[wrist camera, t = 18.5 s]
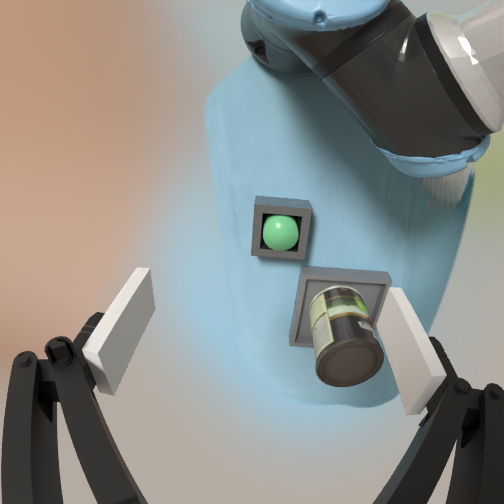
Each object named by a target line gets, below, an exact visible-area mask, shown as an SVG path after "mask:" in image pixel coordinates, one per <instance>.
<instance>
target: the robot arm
mask: <svg viewBox="0 0 504 504" xmlns="http://www.w3.org/2000/svg"><path fill="white" fill-rule="evenodd" d="M246 1H247V3H246V5H245V7H244V9H243V12H242V16H241V31H242V36H243V38H244V41H245V43H246V45H247V47H248V49H249V51H250V52H251V53H252V54H253V56H254V57H255V58H256V59H257V60H258V61H260V62H261V63H262V64H264V65H265V66H267V67H268V68H270V69H272V70H275V71H277V72H280V73H283V74H288V75H296V76H303V75H311V74H316V75H317V76H318V77H319V78H320V79H321V81H322V82H323V83H324V84H325V85H326V86H327V87H328V88H329V90H330V91H331V92H332V93H333V94H334V95H335V96H336V97H337V98H338V100H339V101H340V102H341V103H342V104H343V105H344V106H345V108H346V109H347V110H348V111H349V112H350V113H351V115H352V116H353V117H354V118H355V119H356V121H357V122H358V123H359V124H360V125H361V127H362V128H363V129H364V130H365V132H366V133H367V134H368V135H369V139H370V141H371V142H372V144H373V145H374V146H375V147H376V148H377V149H378V150H379V151H381V152H382V153H383V154H384V155H385V156H386V158H387V159H388V160H389V161H390V163H391V164H392V165H393V166H394V167H395V168H396V169H397V170H399V171H400V172H402V173H404V174H406V175H409V176H412V177H417V178H436V177H442V176H447V175H450V174H453V173H456V172H458V171H461V170H463V169H465V168H466V167H467V163H468V162H476V161H477V160H478V159H479V158H480V157H481V156H482V155H483V154H484V153H485V151H486V150H487V148H488V146H489V143H490V134H491V133H495V132H498V131H500V130H501V128H502V125H503V122H504V0H491V1H489V2H487V3H485V4H483V5H480V6H479V7H477V8H474V9H472V10H470V11H468V12H467V13H464V14H462V15H460V16H451V15H448V14H445V13H442V12H438V11H435V10H431V11H429V12H427V13H425V14H424V15H422V16H420V17H419V18H416V17H415V16H414V15H413V14H412V13H411V12H410V11H409V10H408V8H407V7H406V6H405V5H404V4H403V3H402V2H401V1H400V0H246ZM154 310H155V303H154V295H153V288H152V280H151V271H150V268H142V267H137V269H136V270H135V271H134V273H133V274H132V275H131V277H130V278H129V280H128V281H127V283H126V284H125V285H124V287H123V288H122V290H121V291H120V292H119V294H118V295H117V297H116V298H115V300H114V301H113V303H112V304H111V306H110V307H109V308H108V310H107V311H106V313H100V312H97V313H95V314H94V315H93V316H91V317H90V318H89V319H88V321H87V322H86V324H85V326H84V327H83V328H82V330H81V332H79V334H78V335H77V337H76V338H75V340H74V341H73V343H72V341H71V340H70V339H69V338H67V337H63V336H60V337H55V338H53V339H51V340H50V341H49V342H48V343H47V344H46V346H45V353H46V355H47V357H48V359H47V360H46V359H44V360H43V359H42V360H41V359H38V358H37V356H36V355H35V353H33V352H31V351H25V352H22V353H20V354H18V355H17V356H16V357H15V359H14V361H13V365H12V370H11V376H10V381H9V387H8V394H7V401H6V409H5V417H4V427H3V441H2V462H1V482H2V483H1V485H2V504H63V497H62V491H61V482H60V472H59V459H58V443H57V402H60V403H61V407H62V410H63V414H64V417H65V421H66V424H67V427H68V430H69V433H70V436H71V439H72V442H73V445H74V448H75V451H76V453H77V456H78V459H79V461H80V464H81V466H82V469H83V471H84V474H85V476H86V479H87V481H88V483H89V485H90V488H91V490H92V492H93V494H94V497H95V499H96V501H97V503H98V504H148V503H147V501H146V500H145V498H144V496H143V494H142V493H141V491H140V489H139V488H138V486H137V484H136V482H135V481H134V479H133V477H132V475H131V473H130V471H129V469H128V468H127V466H126V464H125V462H124V460H123V458H122V456H121V454H120V452H119V450H118V448H117V446H116V443H115V441H114V439H113V437H112V435H111V433H110V431H109V428H108V426H107V424H106V422H105V419H104V417H103V414H102V412H101V410H100V407H99V405H98V402H97V399H96V397H95V394H94V392H93V389H94V387H95V385H97V387H98V390H99V391H100V392H102V393H106V394H110V395H115V392H116V390H117V388H118V386H119V384H120V381H121V379H122V377H123V375H124V373H125V371H126V368H127V366H128V364H129V362H130V360H131V358H132V356H133V353H134V351H135V349H136V347H137V345H138V343H139V341H140V339H141V337H142V335H143V333H144V330H145V328H146V326H147V325H148V322H149V320H150V318H151V316H152V314H153V312H154ZM376 327H377V329H378V332H379V335H380V337H381V340H382V343H383V345H384V348H385V351H386V354H387V357H388V360H389V362H390V365H391V368H392V371H393V374H394V377H395V380H396V383H397V386H398V389H399V392H400V395H401V398H402V402H403V405H404V408H405V412H406V415H414V414H421V412H422V411H423V409H424V408H425V407H427V410H428V413H427V415H426V416H425V417H424V419H423V420H422V421H421V422H420V424H419V426H420V428H419V429H418V431H417V433H416V435H415V437H414V439H413V441H412V442H411V444H410V446H409V448H408V450H407V451H406V453H405V455H404V456H403V458H402V460H401V461H400V463H399V465H398V466H397V468H396V470H395V471H394V473H393V475H392V476H391V478H390V479H389V481H388V482H387V484H386V485H385V487H384V488H383V490H382V491H381V493H380V494H379V495H378V497H377V498H376V500H375V501H374V502H373V504H427V502H428V500H429V498H430V497H431V495H432V493H433V491H434V489H435V487H436V485H437V482H438V481H439V479H440V477H441V474H442V472H443V470H444V468H445V466H446V463H447V461H448V459H449V457H450V454H451V452H452V449H453V447H454V444H455V442H456V439H457V443H456V451H455V458H454V464H453V470H452V476H451V481H450V487H449V491H448V496H447V500H446V504H504V390H503V389H502V388H501V387H500V386H499V385H497V384H493V383H490V384H488V385H487V386H486V387H485V389H484V390H479V389H473V388H471V385H470V384H469V383H468V382H467V381H466V380H464V379H462V378H458V376H457V374H456V372H455V370H454V368H453V366H452V364H451V362H450V360H449V359H448V358H447V355H446V353H445V352H444V349H443V347H442V345H441V343H440V342H439V341H438V340H437V339H436V338H435V337H428V336H427V334H426V332H425V330H424V328H423V326H422V325H421V323H420V321H419V319H418V317H417V315H416V313H415V312H414V310H413V308H412V306H411V304H410V303H409V301H408V299H407V297H406V296H405V294H404V292H403V290H402V289H401V288H394V287H389V290H388V293H387V296H386V299H385V302H384V305H383V308H382V311H381V313H380V316H379V319H378V322H377V325H376Z"/></svg>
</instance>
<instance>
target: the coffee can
mask: <svg viewBox="0 0 504 504" xmlns="http://www.w3.org/2000/svg"><path fill="white" fill-rule="evenodd" d="M309 316H310V321H311V329H312V336H313V344H314V352H315V360H316V374H317V376H318V378H319V379H320V380H321V381H322V382H324V383H325V384H327V385H330V386H335V387H349V386H354V385H357V384H360V383H363V382H365V381H366V380H368V379H370V378H371V377H373V376H374V375H375V374H376V373H377V372H378V371H379V369H380V368H381V366H382V364H383V361H384V353H383V350H382V348H381V346H380V344H379V342H378V339H377V336H376V333H375V331H374V328H373V325H372V322H371V320H370V317H369V314H368V312H367V309H366V306H365V304H364V300H363V297H362V295H361V294H360V293H359V292H358V291H357V290H356V289H354V288H352V287H350V286H346V285H335V286H331V287H328V288H326V289H324V290H322V291H320V292H319V293H318V294H317V295H316V296H315V297H314V298H313V300H312V301H311V303H310V306H309Z"/></svg>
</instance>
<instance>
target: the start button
mask: <svg viewBox="0 0 504 504" xmlns="http://www.w3.org/2000/svg"><path fill="white" fill-rule="evenodd" d="M298 235H299V234H298V228H297V222H296V219H295V217H294V216H292V215H281V214H268V215H267V216H266V217H265V220H264V228H263V238H264V241H265V243H266V244H267V246H269V247H270V248H271V249H273V250H277V251H285V250H288V249H290V248H292V247H293V246H294V245H295V244H296V242H297V240H298Z"/></svg>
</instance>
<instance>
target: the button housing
mask: <svg viewBox="0 0 504 504" xmlns="http://www.w3.org/2000/svg"><path fill="white" fill-rule="evenodd" d="M263 213H269V214H281V215H292V216H299V221H298V234H299V235H298V240H297V242H296V244H295V245H294V246H293V247H292V248H290V249H288V250H285V251H277V250H273V249H271V248H270V247H269V246H267V244H266V243H265V241H264V238H261V228H262V215H263ZM311 213H312V208H311V205H310V202H309V200H299V199H288V198H276V197H264V196H256V198H255V204H254V219H253V234H252V249H251V256H263V257H276V258H288V259H300V260H305V254H306V247H307V241H308V234H309V227H310V220H311Z"/></svg>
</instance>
